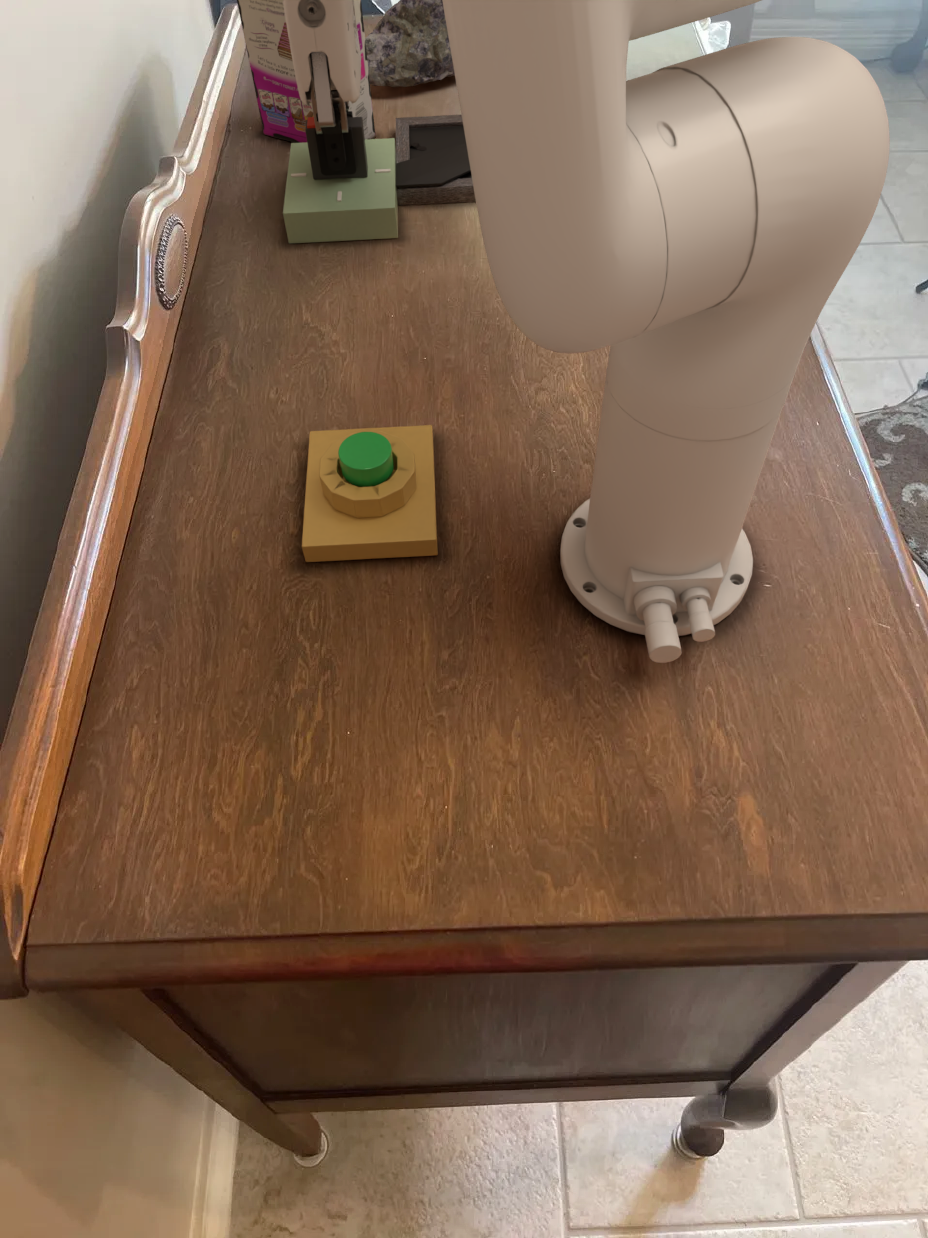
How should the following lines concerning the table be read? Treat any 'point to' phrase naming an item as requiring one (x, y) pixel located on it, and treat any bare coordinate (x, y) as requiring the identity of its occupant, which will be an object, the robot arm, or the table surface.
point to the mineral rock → (410, 45)
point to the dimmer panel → (342, 198)
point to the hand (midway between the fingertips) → (339, 163)
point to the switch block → (371, 500)
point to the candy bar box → (289, 72)
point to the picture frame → (432, 161)
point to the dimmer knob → (358, 148)
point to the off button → (366, 459)
